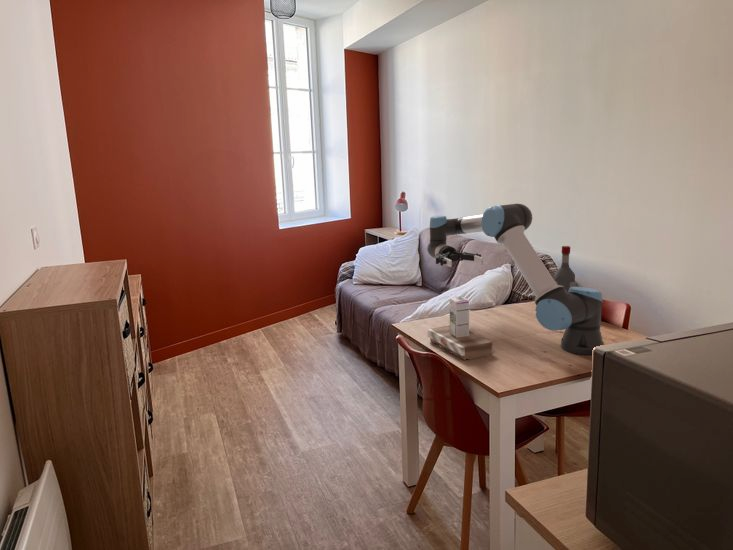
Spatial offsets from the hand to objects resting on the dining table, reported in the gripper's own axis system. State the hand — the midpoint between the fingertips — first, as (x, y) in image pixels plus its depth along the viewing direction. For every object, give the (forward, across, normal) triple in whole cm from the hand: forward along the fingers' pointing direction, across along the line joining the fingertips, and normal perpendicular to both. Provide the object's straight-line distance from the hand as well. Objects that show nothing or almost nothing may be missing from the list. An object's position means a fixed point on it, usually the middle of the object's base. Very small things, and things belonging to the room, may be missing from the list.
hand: (466, 262), depth 214 cm
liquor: (-18, -57, -30) cm, 67 cm away
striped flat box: (+14, +9, -30) cm, 35 cm away
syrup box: (+14, +9, -25) cm, 30 cm away
